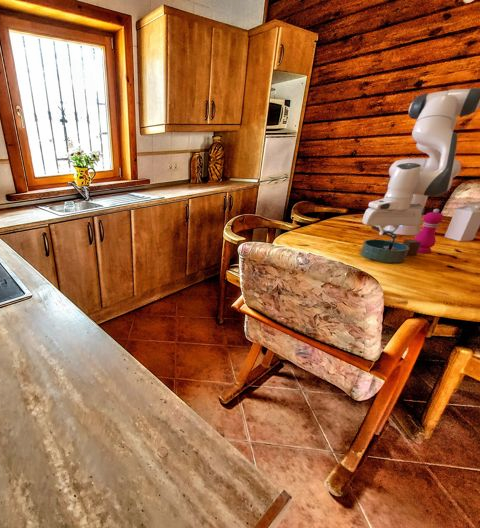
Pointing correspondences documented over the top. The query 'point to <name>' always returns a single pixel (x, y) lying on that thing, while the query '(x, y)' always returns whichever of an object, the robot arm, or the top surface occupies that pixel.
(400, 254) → the bowl
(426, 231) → the pepper mill
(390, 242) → the dark grey angled piece
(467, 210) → the milk carton
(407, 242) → the dark brown block
